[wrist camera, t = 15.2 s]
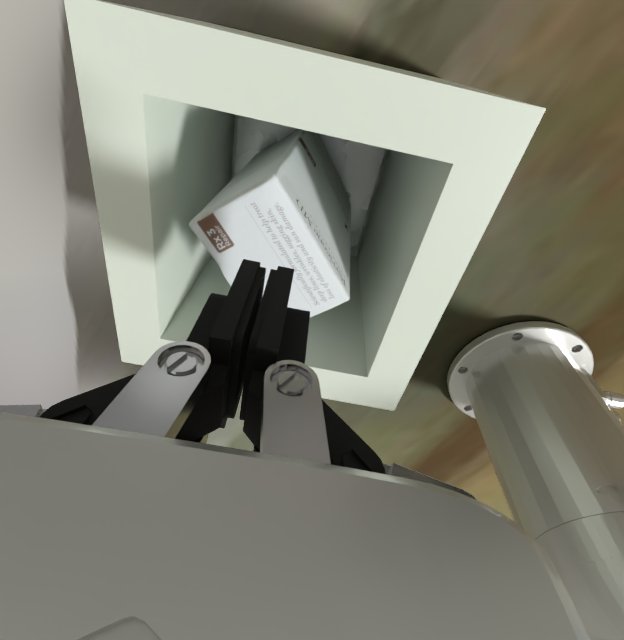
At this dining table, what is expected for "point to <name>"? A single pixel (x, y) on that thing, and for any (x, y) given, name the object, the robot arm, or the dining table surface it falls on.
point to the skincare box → (285, 221)
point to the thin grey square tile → (347, 157)
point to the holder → (219, 167)
